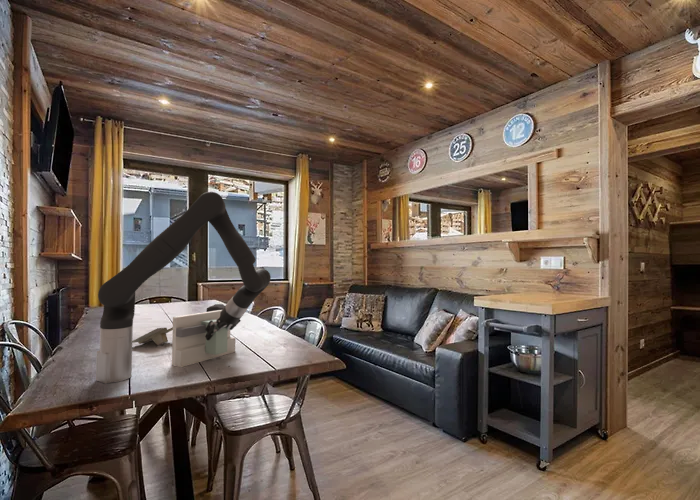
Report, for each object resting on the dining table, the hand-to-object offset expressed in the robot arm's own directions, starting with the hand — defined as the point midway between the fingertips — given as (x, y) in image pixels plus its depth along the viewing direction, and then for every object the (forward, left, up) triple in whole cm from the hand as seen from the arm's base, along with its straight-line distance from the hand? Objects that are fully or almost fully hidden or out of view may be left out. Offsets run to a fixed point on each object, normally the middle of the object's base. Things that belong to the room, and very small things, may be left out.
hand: (213, 336), depth 145 cm
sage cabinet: (0, 0, -6) cm, 6 cm away
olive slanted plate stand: (+1, +42, -9) cm, 43 cm away
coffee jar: (+17, +19, -9) cm, 27 cm away
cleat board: (0, +5, -9) cm, 10 cm away
